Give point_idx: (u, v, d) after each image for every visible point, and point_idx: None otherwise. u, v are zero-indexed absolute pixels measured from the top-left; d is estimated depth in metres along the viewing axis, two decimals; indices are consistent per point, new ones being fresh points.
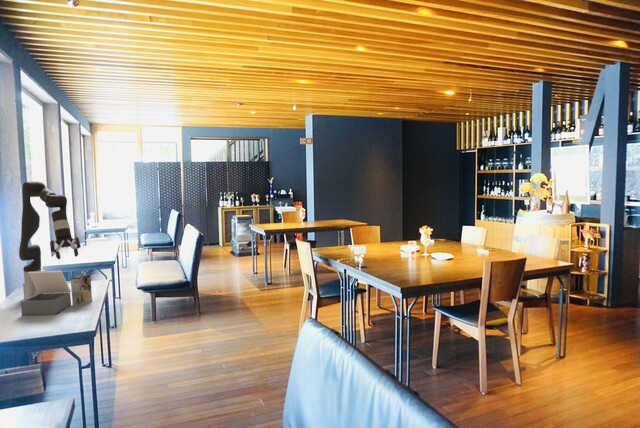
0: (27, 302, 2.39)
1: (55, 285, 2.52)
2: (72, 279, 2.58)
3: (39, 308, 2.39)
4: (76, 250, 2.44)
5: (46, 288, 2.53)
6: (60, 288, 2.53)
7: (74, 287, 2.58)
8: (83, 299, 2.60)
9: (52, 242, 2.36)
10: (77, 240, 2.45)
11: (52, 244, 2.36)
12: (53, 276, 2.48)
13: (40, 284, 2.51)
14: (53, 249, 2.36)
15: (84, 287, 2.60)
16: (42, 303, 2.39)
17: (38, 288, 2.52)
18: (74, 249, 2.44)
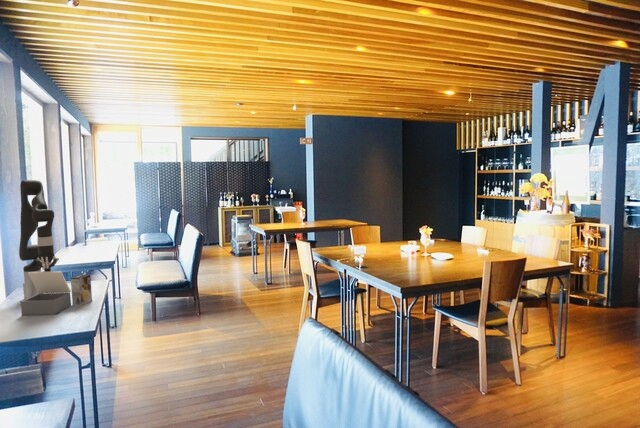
0: (27, 302, 2.39)
1: (55, 285, 2.51)
2: (72, 279, 2.58)
3: (39, 308, 2.39)
4: (47, 269, 2.47)
5: (46, 288, 2.53)
6: (60, 288, 2.53)
7: (74, 287, 2.58)
8: (83, 299, 2.60)
9: (36, 261, 2.47)
10: (53, 261, 2.47)
11: (37, 262, 2.47)
12: (53, 276, 2.47)
13: (40, 284, 2.51)
14: (41, 266, 2.47)
15: (84, 287, 2.60)
16: (42, 303, 2.39)
17: (38, 288, 2.52)
18: None
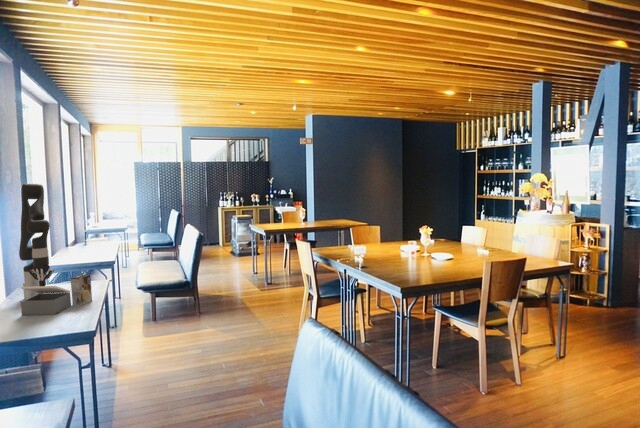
0: (27, 302, 2.39)
1: (53, 291, 2.49)
2: (72, 279, 2.58)
3: (39, 308, 2.39)
4: (42, 282, 2.42)
5: (45, 292, 2.51)
6: (59, 291, 2.52)
7: (74, 287, 2.58)
8: (83, 299, 2.60)
9: (30, 273, 2.42)
10: (48, 273, 2.42)
11: (32, 274, 2.42)
12: (48, 288, 2.43)
13: (37, 291, 2.48)
14: (36, 278, 2.42)
15: (84, 287, 2.60)
16: (42, 303, 2.39)
17: (37, 292, 2.51)
18: None
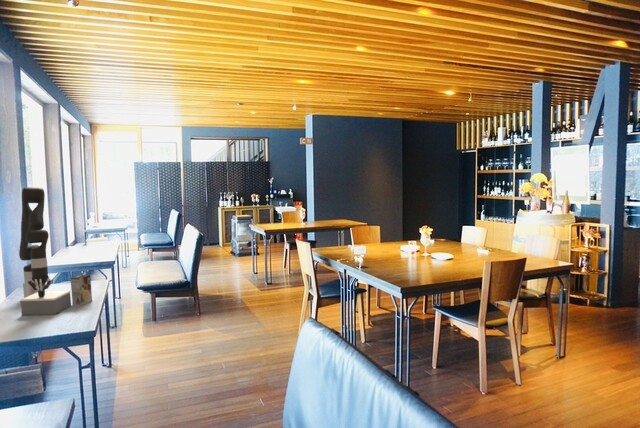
0: (27, 302, 2.39)
1: None
2: (72, 279, 2.57)
3: (39, 308, 2.39)
4: (41, 292, 2.41)
5: None
6: None
7: (74, 287, 2.58)
8: (83, 299, 2.60)
9: (29, 283, 2.41)
10: (47, 283, 2.41)
11: (30, 284, 2.41)
12: None
13: None
14: (34, 288, 2.41)
15: (84, 287, 2.60)
16: (42, 303, 2.39)
17: None
18: None
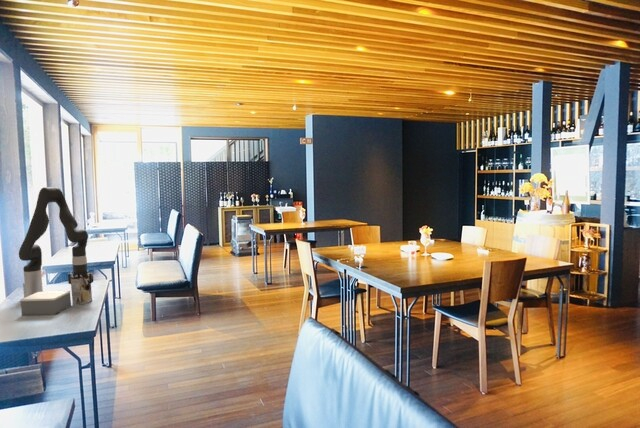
0: (27, 302, 2.39)
1: None
2: (72, 279, 2.58)
3: (39, 308, 2.39)
4: (87, 285, 2.61)
5: None
6: None
7: (74, 287, 2.58)
8: (83, 298, 2.60)
9: (68, 276, 2.60)
10: (89, 276, 2.60)
11: (68, 277, 2.60)
12: None
13: None
14: (69, 282, 2.60)
15: (84, 287, 2.60)
16: (42, 303, 2.39)
17: None
18: None
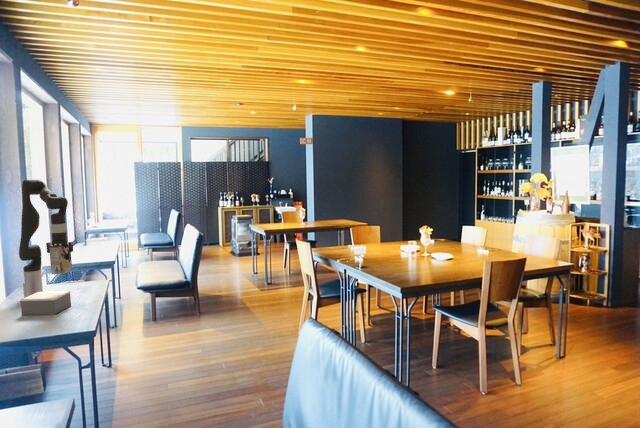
0: (27, 302, 2.39)
1: None
2: (51, 247, 2.48)
3: (39, 308, 2.39)
4: (66, 254, 2.51)
5: None
6: None
7: (53, 255, 2.48)
8: (62, 268, 2.50)
9: (47, 244, 2.50)
10: (69, 245, 2.51)
11: (47, 246, 2.50)
12: None
13: None
14: (48, 251, 2.50)
15: (63, 257, 2.50)
16: (42, 303, 2.39)
17: None
18: None
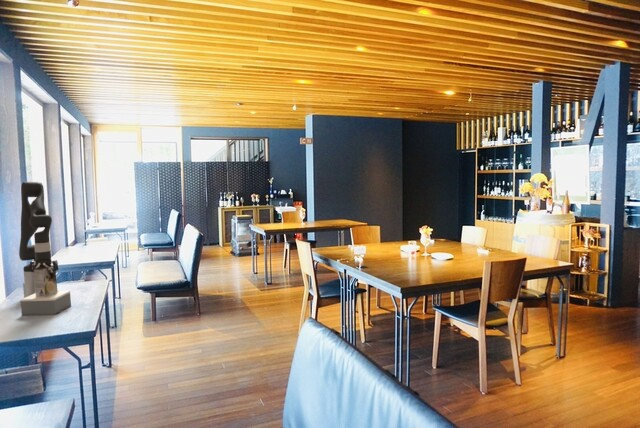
0: (27, 302, 2.39)
1: None
2: (35, 270, 2.41)
3: (39, 308, 2.39)
4: (51, 274, 2.45)
5: None
6: None
7: (37, 278, 2.42)
8: (47, 291, 2.44)
9: (31, 263, 2.44)
10: (53, 264, 2.44)
11: (30, 265, 2.44)
12: None
13: None
14: (31, 270, 2.44)
15: (48, 279, 2.44)
16: (42, 303, 2.39)
17: None
18: None
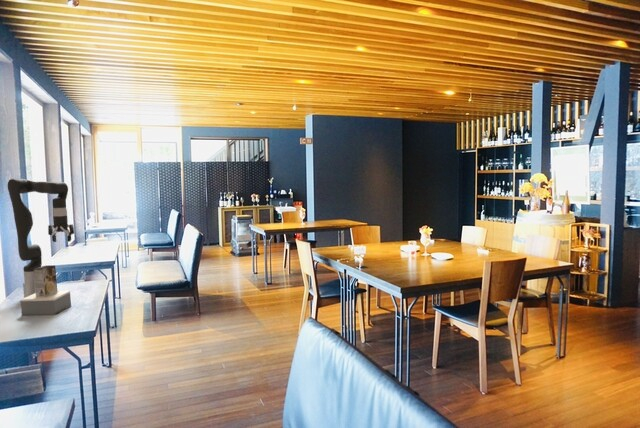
0: (27, 302, 2.39)
1: None
2: (35, 270, 2.41)
3: (39, 308, 2.39)
4: (68, 236, 2.66)
5: None
6: None
7: (37, 278, 2.42)
8: (47, 291, 2.44)
9: (49, 227, 2.65)
10: (70, 227, 2.66)
11: (49, 228, 2.65)
12: None
13: None
14: (49, 233, 2.66)
15: (48, 279, 2.44)
16: (42, 303, 2.39)
17: None
18: (68, 234, 2.67)
